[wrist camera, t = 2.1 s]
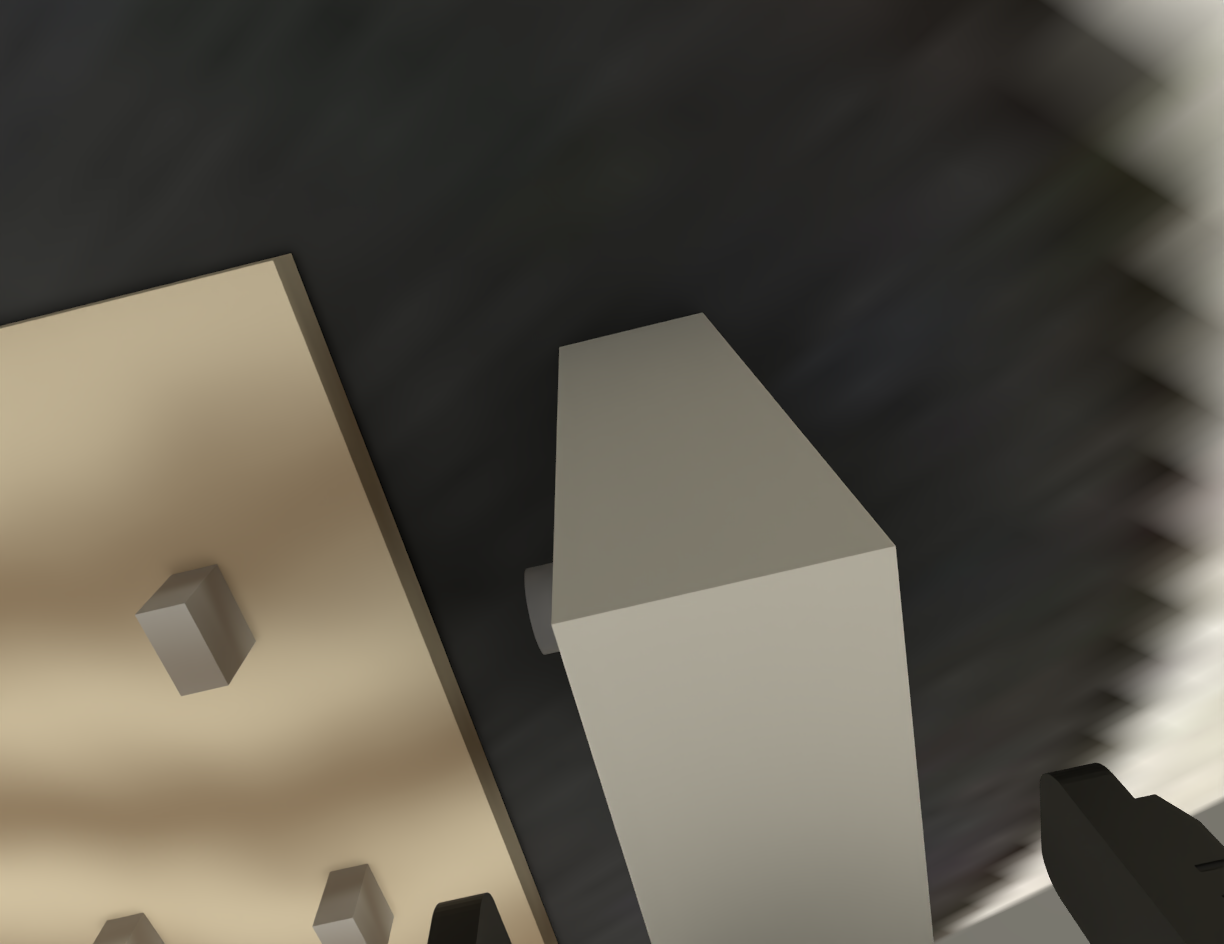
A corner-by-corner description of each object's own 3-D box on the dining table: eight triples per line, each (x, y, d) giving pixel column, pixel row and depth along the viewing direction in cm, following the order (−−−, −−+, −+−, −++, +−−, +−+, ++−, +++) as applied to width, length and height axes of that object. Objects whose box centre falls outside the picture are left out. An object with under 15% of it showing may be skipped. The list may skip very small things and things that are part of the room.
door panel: (521, 356, 16) (461, 645, 7) (701, 311, 16) (894, 546, 7) (643, 784, 21) (707, 1302, 11) (784, 753, 20) (963, 1252, 11)
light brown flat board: (-387, 423, 15) (-555, 472, 13) (290, 253, 15) (240, 272, 12) (133, 1075, 24) (87, 1174, 22) (573, 983, 23) (574, 1074, 21)
